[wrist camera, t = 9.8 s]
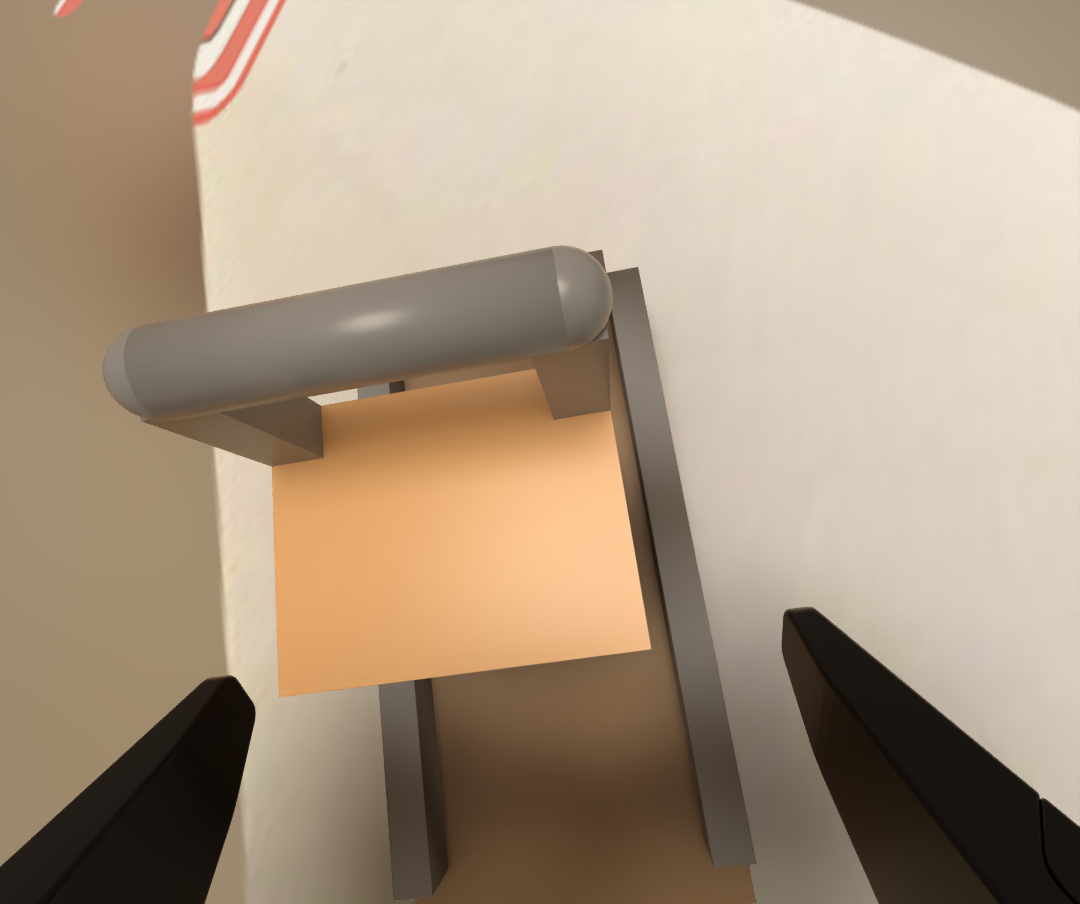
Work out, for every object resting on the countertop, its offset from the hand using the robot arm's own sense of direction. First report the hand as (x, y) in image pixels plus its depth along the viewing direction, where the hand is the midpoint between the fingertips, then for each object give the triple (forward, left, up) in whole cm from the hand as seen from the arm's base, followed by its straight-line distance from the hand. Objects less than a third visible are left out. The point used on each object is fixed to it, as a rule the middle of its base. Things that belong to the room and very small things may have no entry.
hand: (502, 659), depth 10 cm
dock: (+2, 0, -10) cm, 10 cm away
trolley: (+2, 0, -8) cm, 8 cm away
